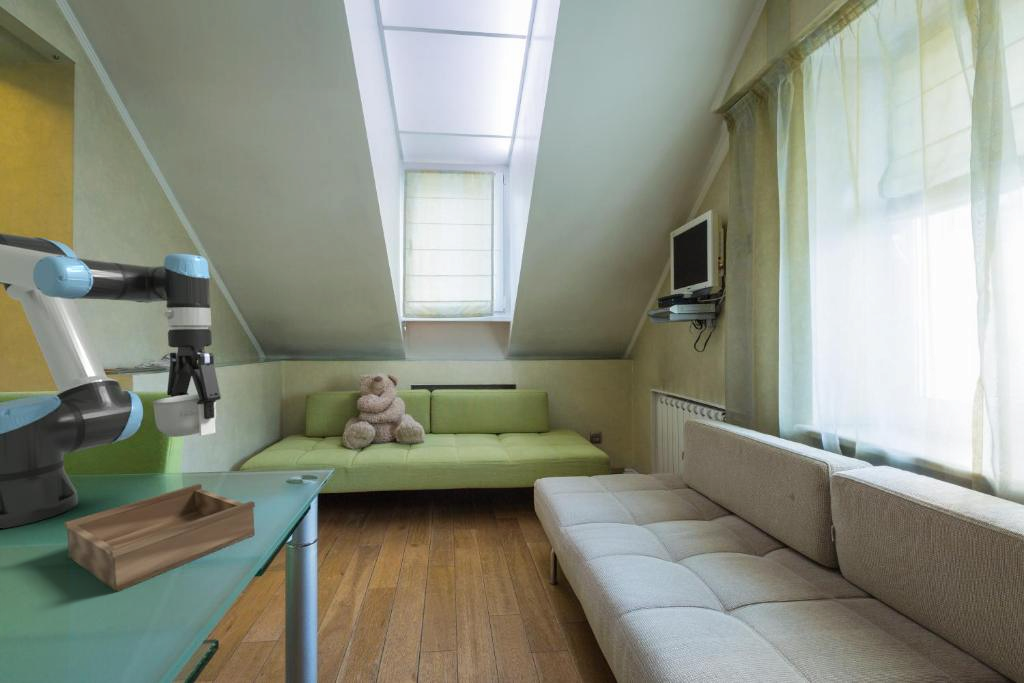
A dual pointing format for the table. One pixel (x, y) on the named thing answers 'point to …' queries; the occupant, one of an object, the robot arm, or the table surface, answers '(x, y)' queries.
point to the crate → (156, 534)
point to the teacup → (178, 415)
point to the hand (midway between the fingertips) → (194, 430)
